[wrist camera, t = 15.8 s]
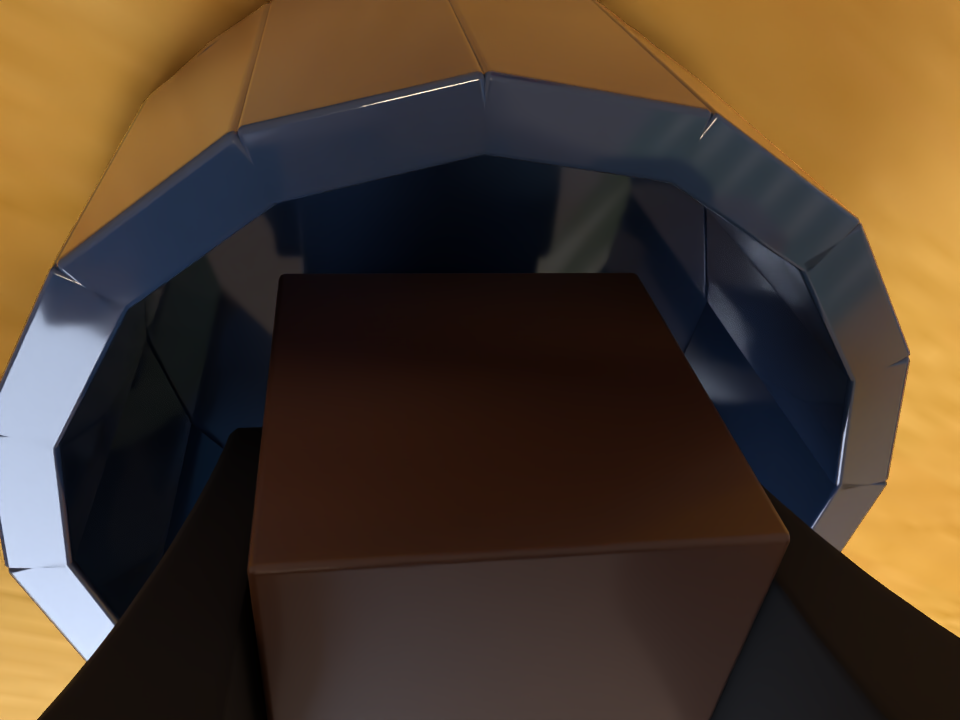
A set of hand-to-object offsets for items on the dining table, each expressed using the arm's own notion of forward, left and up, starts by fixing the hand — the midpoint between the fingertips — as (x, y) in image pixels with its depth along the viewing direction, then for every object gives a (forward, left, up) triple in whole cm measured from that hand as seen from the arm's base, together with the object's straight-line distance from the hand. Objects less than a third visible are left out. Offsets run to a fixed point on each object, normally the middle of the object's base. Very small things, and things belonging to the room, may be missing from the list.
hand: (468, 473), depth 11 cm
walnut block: (0, 0, -1) cm, 1 cm away
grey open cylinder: (0, 0, -4) cm, 4 cm away
